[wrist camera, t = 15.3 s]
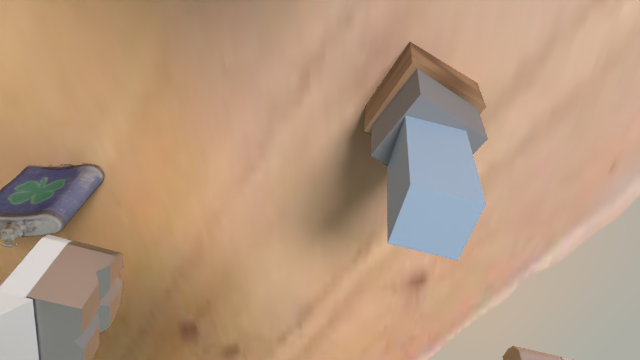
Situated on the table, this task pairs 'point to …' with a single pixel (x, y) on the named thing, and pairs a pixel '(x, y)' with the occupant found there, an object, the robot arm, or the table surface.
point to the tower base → (431, 67)
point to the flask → (45, 199)
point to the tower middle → (424, 114)
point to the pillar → (432, 189)
